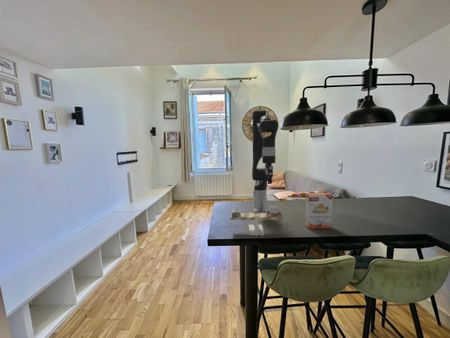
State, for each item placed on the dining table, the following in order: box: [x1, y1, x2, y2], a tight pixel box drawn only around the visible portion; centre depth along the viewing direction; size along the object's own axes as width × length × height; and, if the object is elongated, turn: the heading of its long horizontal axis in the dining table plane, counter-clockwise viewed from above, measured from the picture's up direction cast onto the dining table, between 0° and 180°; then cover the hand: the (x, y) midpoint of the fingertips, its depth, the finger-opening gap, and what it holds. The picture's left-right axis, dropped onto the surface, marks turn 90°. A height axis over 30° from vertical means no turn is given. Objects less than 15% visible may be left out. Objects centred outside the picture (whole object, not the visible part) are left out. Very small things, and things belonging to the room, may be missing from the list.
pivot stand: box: [248, 208, 265, 237], centre depth 127 cm, size 8×13×12 cm, turn 176°
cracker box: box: [304, 192, 334, 230], centre depth 130 cm, size 14×6×21 cm, turn 91°
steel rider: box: [268, 205, 280, 215], centre depth 126 cm, size 5×5×5 cm
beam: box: [230, 208, 283, 221], centre depth 127 cm, size 29×9×4 cm, turn 86°
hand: (268, 182), depth 127 cm, fingers open, 8 cm apart
